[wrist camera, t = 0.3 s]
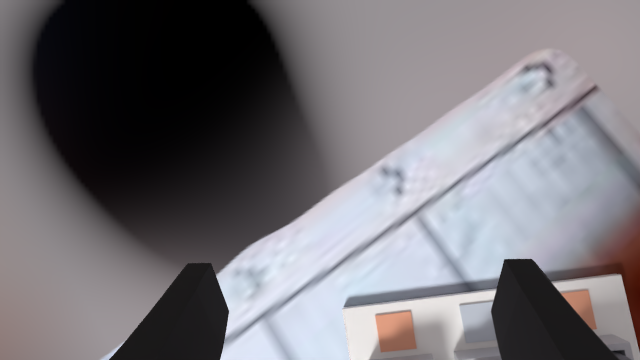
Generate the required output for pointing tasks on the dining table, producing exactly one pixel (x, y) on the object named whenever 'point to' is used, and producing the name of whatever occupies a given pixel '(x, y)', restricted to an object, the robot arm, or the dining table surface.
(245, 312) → the dining table surface
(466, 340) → the button board
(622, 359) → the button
